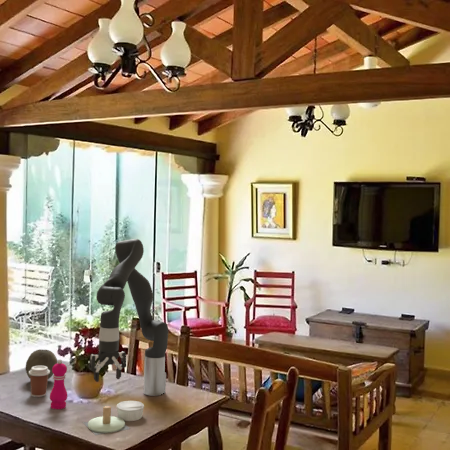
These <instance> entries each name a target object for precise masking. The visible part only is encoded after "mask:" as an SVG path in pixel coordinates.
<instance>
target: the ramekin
mask: <svg viewBox="0 0 450 450" xmlns="http://www.w3.org/2000/svg"><path fill="white" fill-rule="evenodd" d="M115 408H116V412H117V417H119V418H121V419H123V420H124V421H125V422H133V421H134V422H135V421H138V420H140V419H142V418H143V413H144V409H145V405H144V403H142V401H138V400H137V401H136V400H124V401H119V403H117V404H116V407H115Z"/></svg>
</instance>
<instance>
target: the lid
mask: <svg viewBox="0 0 450 450" xmlns="http://www.w3.org/2000/svg"><path fill="white" fill-rule="evenodd" d="M87 422H88V427H87V429H88V430H90V431H91V430H92V431H95V432H101V433H106V434H110V433H109V432H111V433H116V432H115V431H117V432H120V431H119V430H121V429H123V428H124V426H125V425H126V421H124V420H123V419H121V418H119V417H118V416H112V407H111V406H109V405H106V406H103V407H102V416H97V417H93V418H91V419H89V421H87ZM92 431H91V432H92Z"/></svg>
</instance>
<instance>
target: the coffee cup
mask: <svg viewBox="0 0 450 450" xmlns="http://www.w3.org/2000/svg"><path fill="white" fill-rule="evenodd" d="M48 374H50V370H48V367H46V366H34V367H32V368H31V370H30V371H29V375H30V378H29V379H30V395H31V397H34V398H38V397H39V398H42V397H45V396H46V395H47V391H48V390H47V387H48V381H49V379H48Z"/></svg>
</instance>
